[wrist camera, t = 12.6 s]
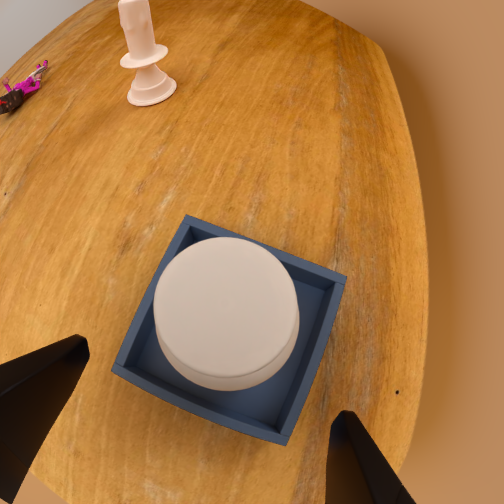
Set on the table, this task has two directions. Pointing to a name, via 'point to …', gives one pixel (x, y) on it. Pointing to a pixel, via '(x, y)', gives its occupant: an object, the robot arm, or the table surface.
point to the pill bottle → (226, 314)
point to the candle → (143, 55)
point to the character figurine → (20, 90)
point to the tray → (254, 398)
